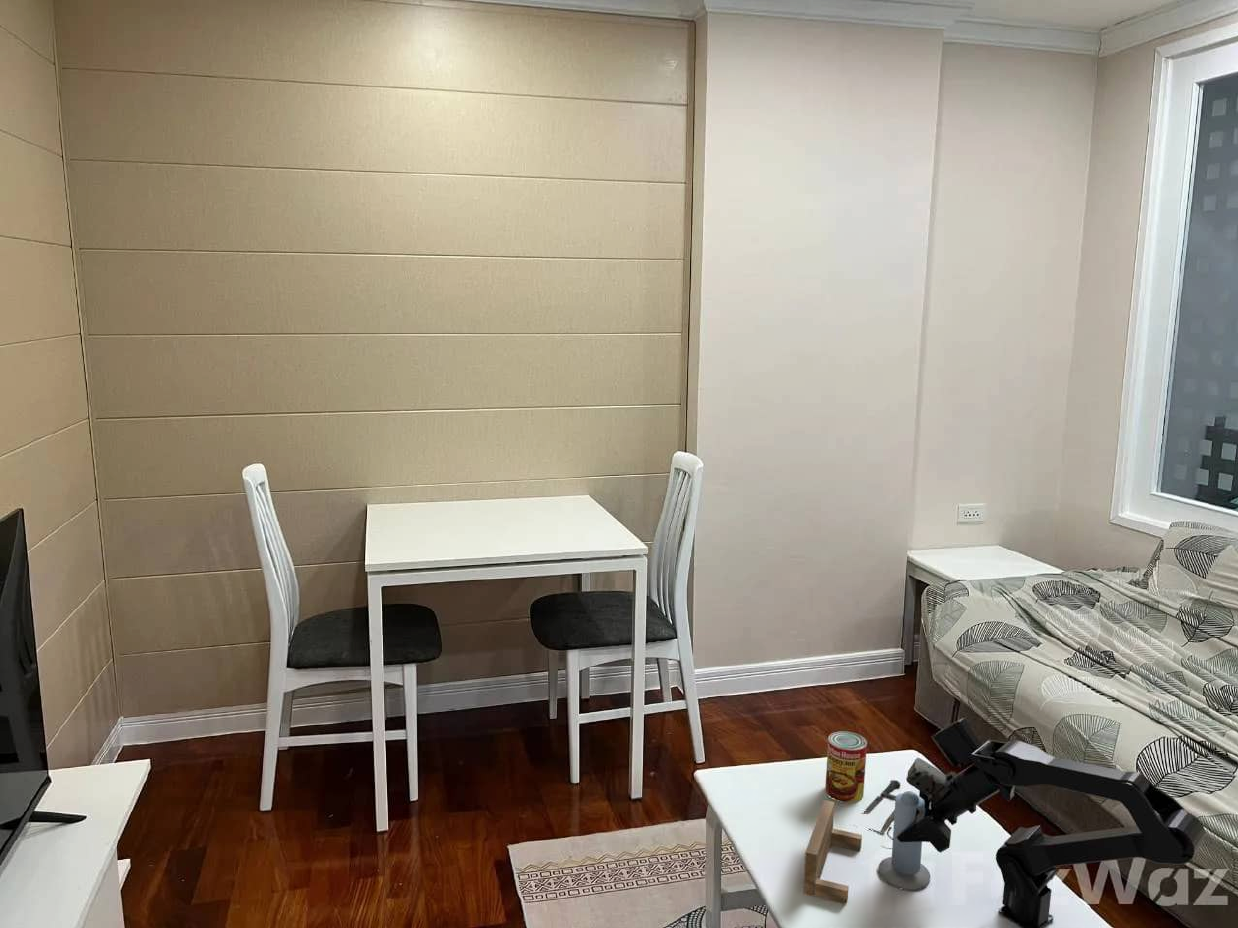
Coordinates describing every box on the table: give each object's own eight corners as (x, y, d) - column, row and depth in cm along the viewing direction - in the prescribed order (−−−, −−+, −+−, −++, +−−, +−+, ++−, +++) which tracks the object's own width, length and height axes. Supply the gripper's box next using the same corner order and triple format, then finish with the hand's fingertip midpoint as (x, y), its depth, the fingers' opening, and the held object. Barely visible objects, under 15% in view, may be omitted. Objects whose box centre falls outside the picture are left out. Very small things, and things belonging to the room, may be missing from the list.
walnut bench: (861, 846, 177) (863, 808, 176) (846, 903, 161) (849, 862, 159) (821, 837, 180) (823, 799, 178) (803, 892, 164) (805, 852, 162)
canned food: (819, 794, 195) (822, 742, 192) (833, 778, 201) (836, 727, 199) (855, 807, 190) (859, 753, 188) (868, 790, 197) (872, 738, 194)
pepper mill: (925, 868, 168) (931, 794, 165) (907, 877, 165) (913, 802, 162) (903, 854, 172) (908, 781, 169) (885, 863, 169) (890, 790, 166)
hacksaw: (892, 783, 201) (892, 776, 200) (939, 799, 194) (940, 793, 194) (842, 833, 182) (843, 826, 182) (893, 853, 176) (893, 846, 176)
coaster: (940, 878, 168) (940, 875, 168) (908, 896, 163) (908, 893, 163) (900, 853, 175) (900, 850, 175) (868, 870, 170) (868, 867, 170)
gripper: (940, 728, 171) (875, 771, 177) (933, 776, 154) (861, 822, 160) (983, 776, 170) (916, 818, 176) (980, 830, 153) (906, 874, 159)
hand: (899, 831), depth 168 cm, fingers closed on pepper mill, 5 cm apart
